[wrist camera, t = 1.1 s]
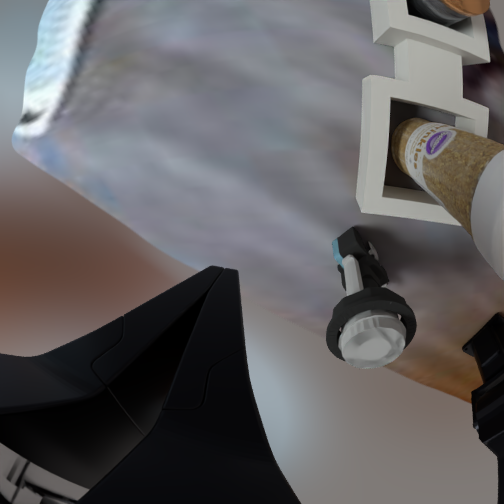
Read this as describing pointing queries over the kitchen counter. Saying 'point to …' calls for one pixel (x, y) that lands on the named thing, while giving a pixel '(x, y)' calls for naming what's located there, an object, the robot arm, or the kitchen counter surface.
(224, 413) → the robot arm
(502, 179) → the sprinkles bottle
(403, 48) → the housing
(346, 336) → the push button
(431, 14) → the copper and black cylinder
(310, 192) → the kitchen counter surface
